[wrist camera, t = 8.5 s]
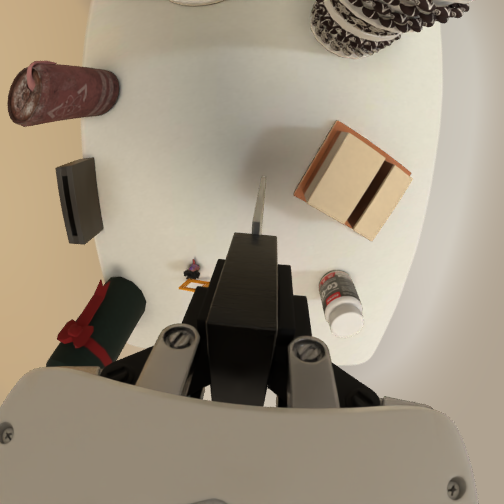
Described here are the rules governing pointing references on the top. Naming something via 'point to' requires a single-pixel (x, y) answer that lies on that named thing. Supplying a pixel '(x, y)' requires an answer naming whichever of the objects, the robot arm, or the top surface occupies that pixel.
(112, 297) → the wine bottle
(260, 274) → the knife
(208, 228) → the top surface
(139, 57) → the top surface
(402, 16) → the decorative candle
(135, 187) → the top surface
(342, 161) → the slotted block stand
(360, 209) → the slice
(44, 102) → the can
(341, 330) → the pill bottle
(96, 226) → the knife block
